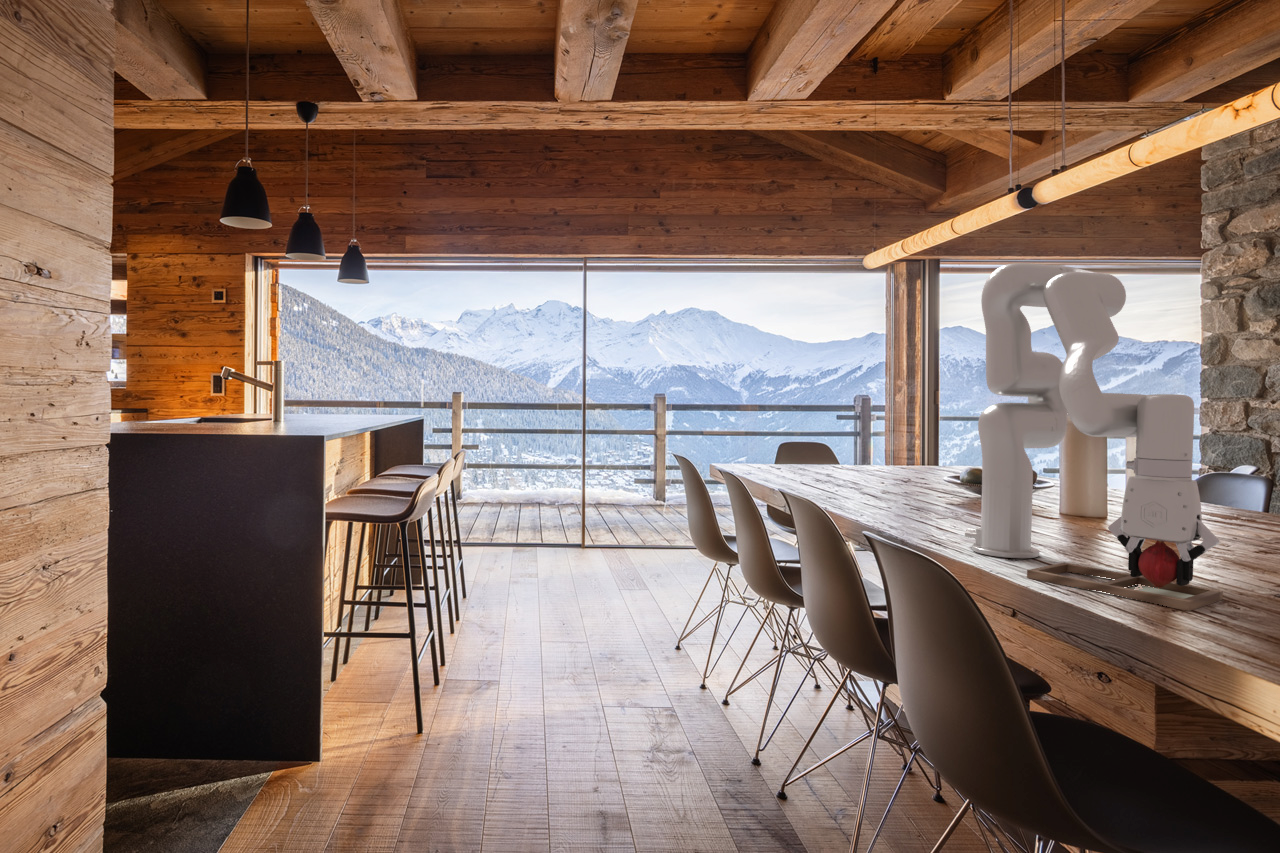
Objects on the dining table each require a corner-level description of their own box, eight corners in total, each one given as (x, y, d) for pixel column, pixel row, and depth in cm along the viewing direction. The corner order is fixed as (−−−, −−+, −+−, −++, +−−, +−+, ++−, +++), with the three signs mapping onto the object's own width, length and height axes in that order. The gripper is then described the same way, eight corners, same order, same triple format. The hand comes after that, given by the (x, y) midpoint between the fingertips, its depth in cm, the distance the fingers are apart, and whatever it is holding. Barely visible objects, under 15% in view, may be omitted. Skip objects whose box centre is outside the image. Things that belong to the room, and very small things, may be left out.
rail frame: (1026, 577, 130) (1027, 569, 130) (1063, 569, 137) (1064, 562, 137) (1188, 611, 109) (1189, 601, 109) (1222, 599, 116) (1222, 591, 116)
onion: (1188, 593, 115) (1190, 542, 115) (1148, 590, 116) (1149, 541, 116) (1169, 584, 120) (1171, 536, 120) (1131, 582, 122) (1132, 534, 121)
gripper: (1094, 466, 123) (1091, 572, 123) (1218, 475, 108) (1214, 595, 109) (1115, 465, 127) (1112, 567, 127) (1237, 473, 113) (1233, 588, 113)
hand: (1159, 579), depth 118 cm, fingers closed on onion, 5 cm apart
